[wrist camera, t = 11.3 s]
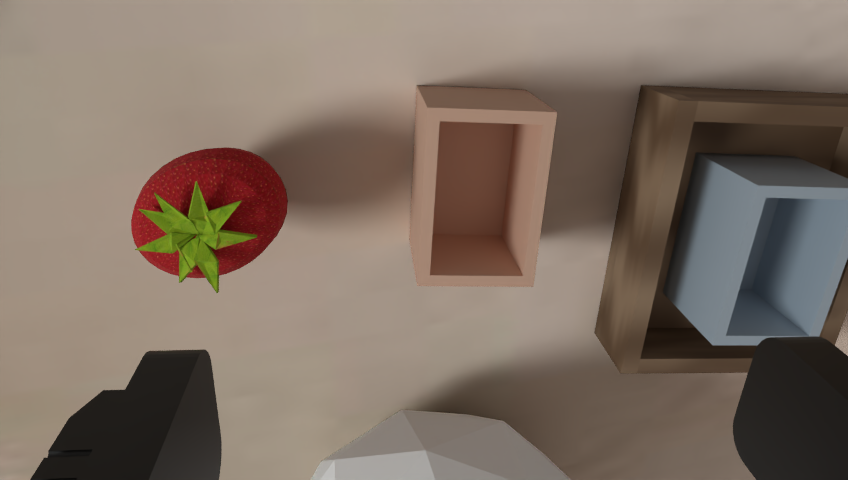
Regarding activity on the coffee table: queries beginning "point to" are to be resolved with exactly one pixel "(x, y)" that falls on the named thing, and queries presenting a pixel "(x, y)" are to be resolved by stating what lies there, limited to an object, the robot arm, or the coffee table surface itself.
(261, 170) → the strawberry
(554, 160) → the coffee table surface
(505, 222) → the terracotta crate
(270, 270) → the coffee table surface
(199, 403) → the robot arm
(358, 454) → the geometric orb
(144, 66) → the coffee table surface
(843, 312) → the walnut crate
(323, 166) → the coffee table surface
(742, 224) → the blue-grey hollow box
